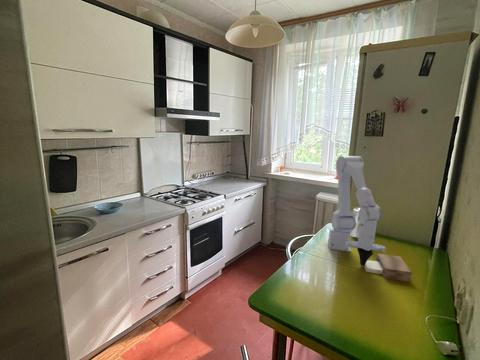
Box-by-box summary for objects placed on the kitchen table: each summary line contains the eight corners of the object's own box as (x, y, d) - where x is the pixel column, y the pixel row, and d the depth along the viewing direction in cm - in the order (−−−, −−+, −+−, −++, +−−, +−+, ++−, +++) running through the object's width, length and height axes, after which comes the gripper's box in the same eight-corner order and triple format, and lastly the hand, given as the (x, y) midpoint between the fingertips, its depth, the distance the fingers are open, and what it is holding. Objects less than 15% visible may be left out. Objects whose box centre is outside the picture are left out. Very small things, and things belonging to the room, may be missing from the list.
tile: (366, 272, 101) (366, 268, 101) (362, 263, 108) (362, 259, 108) (399, 277, 99) (399, 273, 98) (393, 267, 105) (393, 263, 105)
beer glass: (348, 236, 133) (352, 210, 130) (349, 232, 139) (353, 206, 136) (363, 240, 130) (367, 212, 126) (363, 235, 136) (367, 208, 132)
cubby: (383, 277, 97) (385, 268, 97) (375, 261, 109) (376, 253, 108) (409, 281, 95) (411, 272, 95) (398, 265, 107) (400, 256, 106)
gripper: (349, 236, 99) (345, 267, 102) (389, 241, 96) (384, 273, 99) (346, 229, 106) (342, 258, 109) (384, 233, 103) (379, 263, 106)
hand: (362, 264), depth 105 cm, fingers closed
